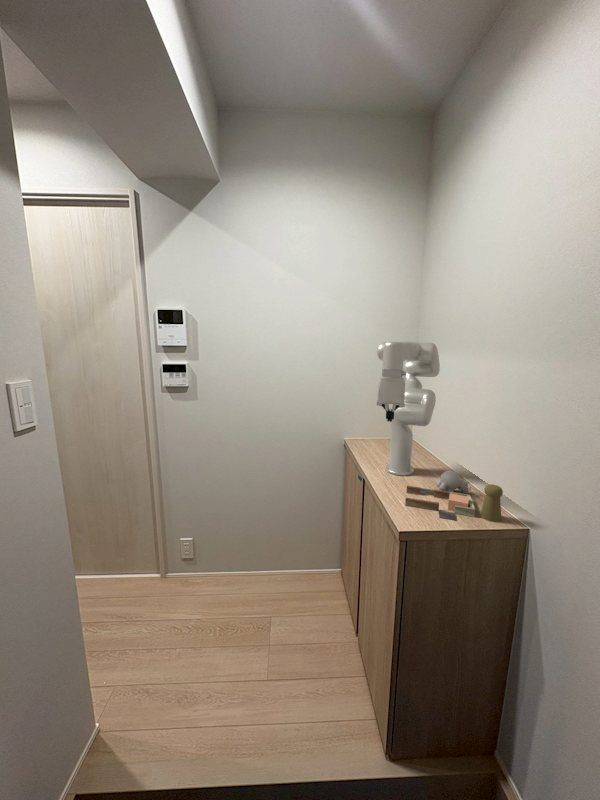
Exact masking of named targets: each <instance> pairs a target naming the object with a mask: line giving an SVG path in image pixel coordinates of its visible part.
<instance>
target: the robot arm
mask: <svg viewBox="0 0 600 800" xmlns="http://www.w3.org/2000/svg"><path fill="white" fill-rule="evenodd" d="M376 348H377V349H376V354H377V358H378V359H379V360H380V361H382V372H381V373H382V374H381V377H380V378H379V381H378V382H379V383H378V389H377V401H376V406H378V407H382V408H383V409H384V410H385V420H386V422H390V441H389V456H388V457H389V460H388V464H387V465H385V468H384V469H385V471H386V472H387V473H389V474H391V475H395V476H403V477H404V476H412V475H413V474H414V473H415V469H414V468H413V467H412V452H413V451H412V450H413V439H414V437H413V436H414V435H413V431H412V430H411V428H410V426H414V427H415V426H416V427H427V426H429V424H430V423H431V419H432V417H433V414H434V410H435V407H436V406H435V405H436V400H437V398H436V393H435V392H434V391H433V390H432V389H428V388H427V389H426V388H423V384H422V383H421V381H420V380H419V379H418V378H417V377H419V378H420V377H422V378H423V377H424V378H435V377H437V376H438V375H439V374H440V371H441V365H440V357H439V356H440V355H439V350H438V347H437V345H436V344H435V343H434V342H412V341H382V342H380V343H379V344H378V346H377V347H376ZM389 405H391V406H389Z"/></svg>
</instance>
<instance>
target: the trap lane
mask: <svg viewBox="0 0 600 800" xmlns="http://www.w3.org/2000/svg"><path fill="white" fill-rule="evenodd" d="M450 493H452V494H457V495H462V496H467V497H469V499H468V507H463V506H457V505H455V510H454V511H448V510H447V511H446V510H441V509H440V502H437V501H430V500H425V499H417V498H411V497H405V499H404V500H405V501H404V502H405V503H404V506H407V507H411V508H412V507H413V508H419V509H424V510H425V509H426V510H430V511H438V515H439V519H442V520H443V519H445V520H449V521H450V520H451V521H455V522H456V521H457V518H456V517H457V516H456V515H461V516H466V517H474V518H475V516H476V515H475V514H476V507H475V505H474V502H473V500H472V496H471V494H468V493H466V494H464V493H462V492H448V491H442V490H440V489H431V488H423V487H419V486H415V485H414V486H413V485H406V494H412V495H418V496H419V495H420V496H421V495H427V496H432V497H434V498H437V499H438V498H439V499H444V500H449V496H450ZM439 509H440V510H439Z"/></svg>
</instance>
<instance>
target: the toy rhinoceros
mask: <svg viewBox="0 0 600 800" xmlns="http://www.w3.org/2000/svg"><path fill="white" fill-rule="evenodd" d="M466 480H467V479H466V478H464V479H462V478H461V476H460V475H459V474H458V472H456V471H454V470H445V471H444V472H442V473H441V475H440V479H439V480H437V482H436V483H435V485H436V486H437V487H438V490H441V491H448V492H454V491H455V490H459V491H460V493H462V494H468V493H469V492H470V490H472V487H471V486H470V487H469V485H468V484H469V483H470V482H469V481H466Z"/></svg>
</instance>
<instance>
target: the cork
mask: <svg viewBox="0 0 600 800" xmlns="http://www.w3.org/2000/svg"><path fill="white" fill-rule="evenodd" d="M483 490H484V494H485V496H484V498H483V499H484V500H483V504H482V507H481V512H480V513H479V514H480V517H481V518H482V519H483V520H486V521H488V522H492V523H500V522H501V521H502V509H501V508H502V507H501V506H502V504H501V497H503V493H504V492H503V489H502V487H501V486H499V485H496V484H490V483H489V484H486V485H485V486H484V489H483Z"/></svg>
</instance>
